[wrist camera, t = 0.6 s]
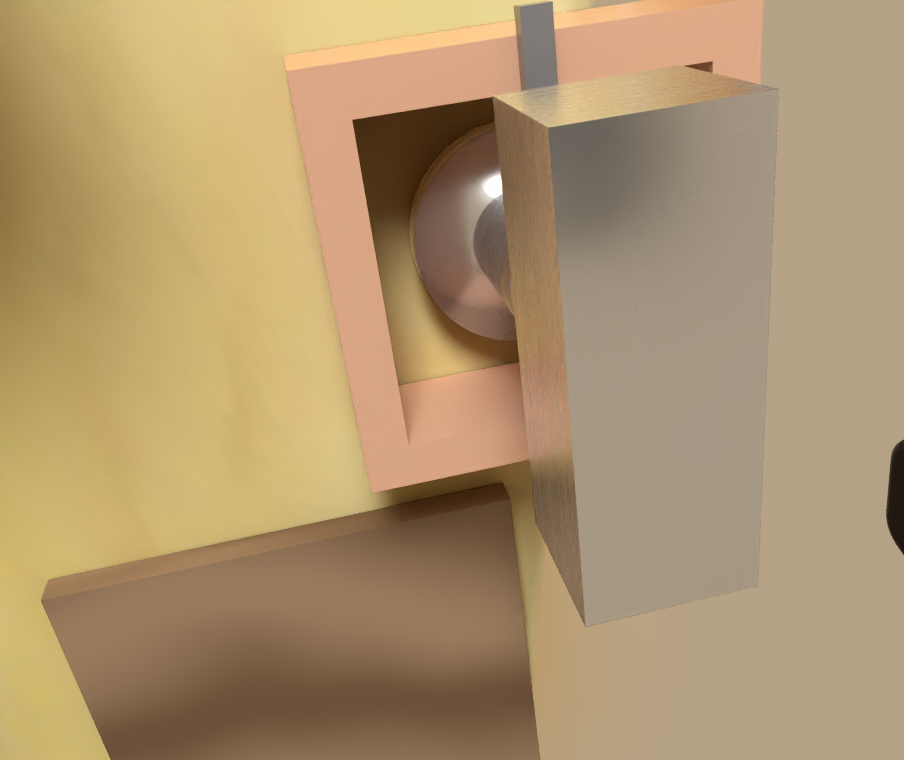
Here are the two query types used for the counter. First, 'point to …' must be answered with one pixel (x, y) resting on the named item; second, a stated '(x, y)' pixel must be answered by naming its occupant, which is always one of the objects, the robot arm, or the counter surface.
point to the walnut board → (313, 641)
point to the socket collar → (445, 82)
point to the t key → (623, 317)
